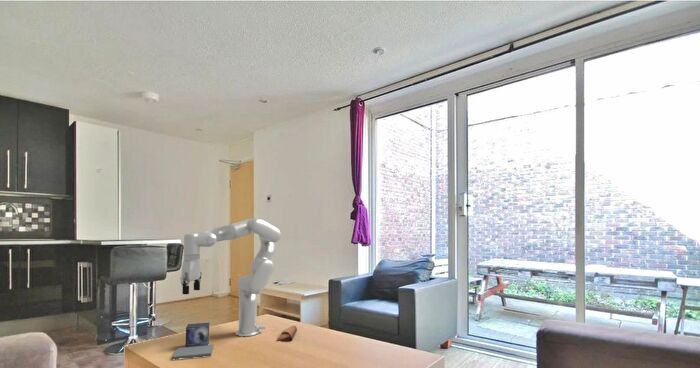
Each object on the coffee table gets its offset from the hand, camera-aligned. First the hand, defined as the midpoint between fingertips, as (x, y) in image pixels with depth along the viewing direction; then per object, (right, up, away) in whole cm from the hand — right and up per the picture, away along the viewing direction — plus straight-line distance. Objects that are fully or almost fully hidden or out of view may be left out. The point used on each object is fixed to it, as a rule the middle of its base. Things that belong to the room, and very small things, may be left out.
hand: (191, 292), depth 188 cm
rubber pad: (+7, -25, -14) cm, 29 cm away
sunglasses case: (+46, -28, +11) cm, 55 cm away
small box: (+4, -26, -3) cm, 27 cm away
